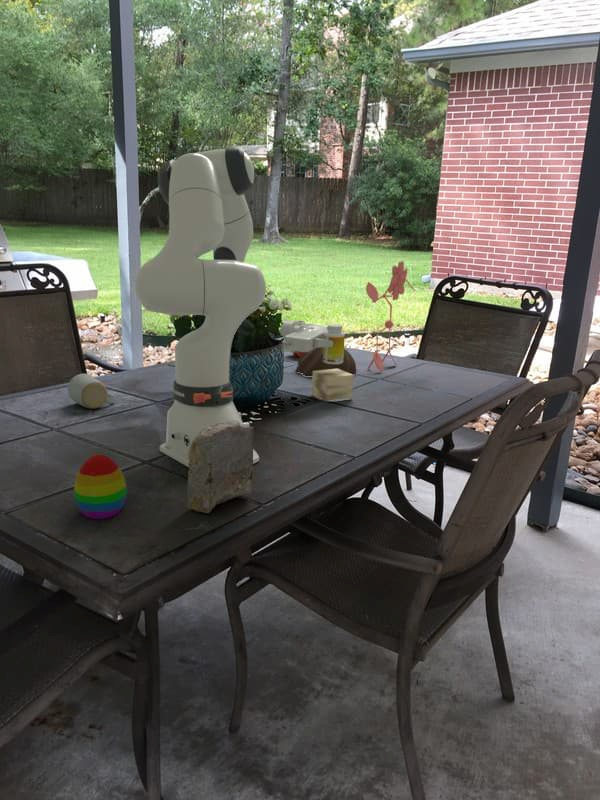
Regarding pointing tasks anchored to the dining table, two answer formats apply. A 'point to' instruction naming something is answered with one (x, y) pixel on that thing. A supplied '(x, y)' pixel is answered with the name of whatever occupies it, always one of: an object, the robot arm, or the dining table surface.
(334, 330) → the supplement bottle
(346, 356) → the decorative dome
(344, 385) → the beech block
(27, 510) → the dining table surface
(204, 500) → the geological specimen
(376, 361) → the figurine
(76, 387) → the ceramic mug
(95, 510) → the decorative egg
